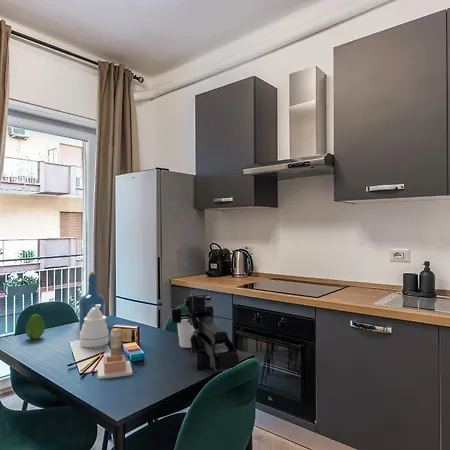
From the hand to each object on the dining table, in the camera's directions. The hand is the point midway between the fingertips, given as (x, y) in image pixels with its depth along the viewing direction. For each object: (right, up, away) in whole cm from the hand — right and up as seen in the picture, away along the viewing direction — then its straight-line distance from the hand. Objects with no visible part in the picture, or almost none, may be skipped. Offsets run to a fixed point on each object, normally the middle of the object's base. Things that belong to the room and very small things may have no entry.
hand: (187, 310), depth 166 cm
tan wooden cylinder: (-27, -16, -20) cm, 37 cm away
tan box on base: (-25, -16, -29) cm, 41 cm away
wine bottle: (-55, -17, +31) cm, 66 cm away
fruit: (-75, -16, +10) cm, 78 cm away
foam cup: (-1, -17, +1) cm, 17 cm away
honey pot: (-44, -17, +5) cm, 48 cm away
